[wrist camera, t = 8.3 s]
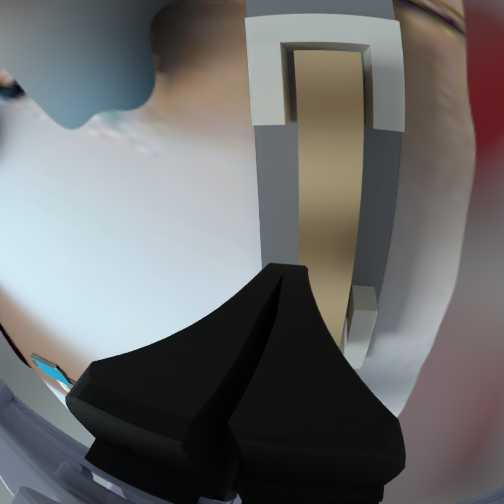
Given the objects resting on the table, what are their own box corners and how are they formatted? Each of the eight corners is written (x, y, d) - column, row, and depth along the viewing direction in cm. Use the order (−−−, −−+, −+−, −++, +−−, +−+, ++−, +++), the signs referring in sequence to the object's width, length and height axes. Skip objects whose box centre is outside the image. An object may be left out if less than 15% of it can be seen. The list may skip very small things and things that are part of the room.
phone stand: (49, 378, 53) (45, 383, 51) (24, 344, 47) (20, 349, 46) (98, 403, 47) (95, 408, 46) (69, 366, 42) (64, 372, 40)
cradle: (359, 355, 22) (360, 388, 19) (268, 348, 24) (259, 379, 21) (388, 2, 10) (401, -19, 7) (249, 0, 11) (231, -21, 9)
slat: (335, 318, 19) (332, 373, 15) (302, 316, 20) (292, 370, 16) (349, 69, 12) (360, 52, 8) (303, 68, 12) (293, 50, 8)
